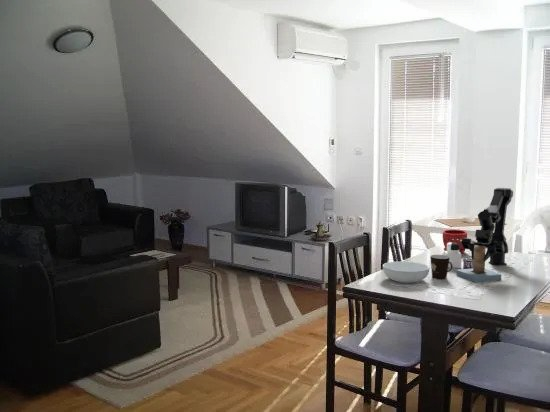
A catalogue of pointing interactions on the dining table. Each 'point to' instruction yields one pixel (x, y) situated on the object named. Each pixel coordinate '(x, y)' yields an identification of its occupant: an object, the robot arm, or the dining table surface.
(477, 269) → the walnut peg
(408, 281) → the serving bowl
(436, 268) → the coffee mug
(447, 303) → the dining table surface
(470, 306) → the dining table surface
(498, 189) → the robot arm
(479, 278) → the slate holder block
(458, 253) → the medicine bottle
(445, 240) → the plant pot
